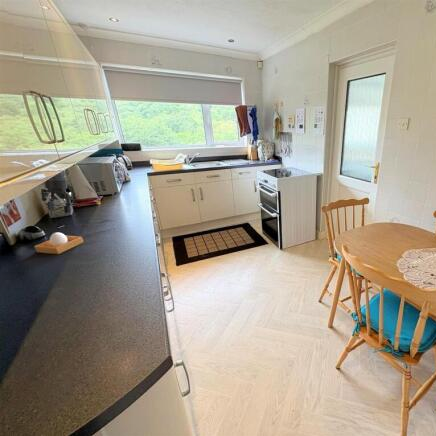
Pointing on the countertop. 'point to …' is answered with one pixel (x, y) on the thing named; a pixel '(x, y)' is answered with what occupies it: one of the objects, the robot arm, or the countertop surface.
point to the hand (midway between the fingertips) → (59, 211)
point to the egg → (58, 239)
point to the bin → (49, 248)
